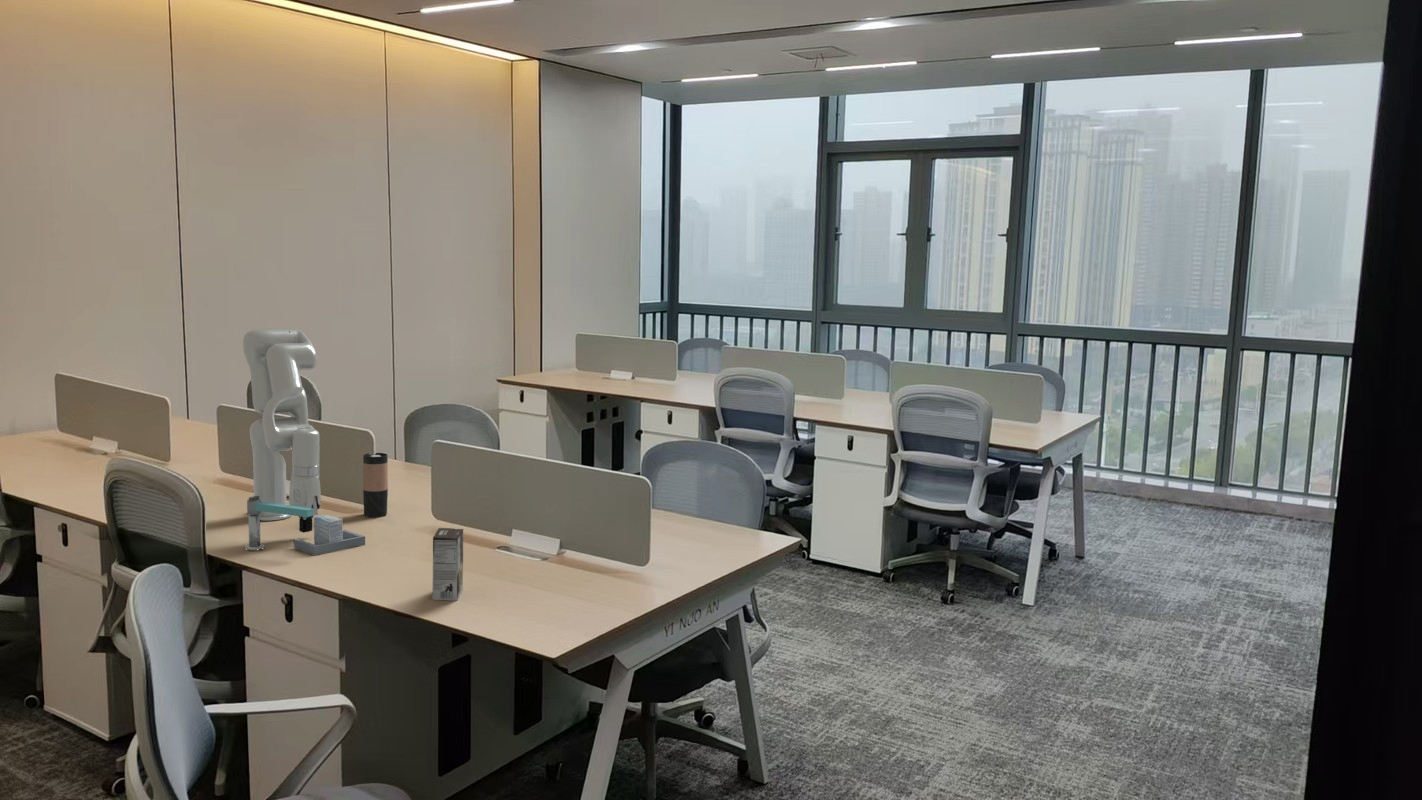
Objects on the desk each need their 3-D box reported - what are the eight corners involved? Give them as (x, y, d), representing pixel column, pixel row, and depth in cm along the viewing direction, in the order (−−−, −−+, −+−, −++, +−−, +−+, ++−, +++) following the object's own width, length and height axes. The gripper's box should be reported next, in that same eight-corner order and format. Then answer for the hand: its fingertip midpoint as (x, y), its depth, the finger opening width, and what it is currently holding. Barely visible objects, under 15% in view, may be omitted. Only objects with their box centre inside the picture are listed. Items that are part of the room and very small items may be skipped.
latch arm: (253, 511, 291) (253, 494, 291) (314, 519, 285) (314, 502, 285) (244, 513, 288) (244, 497, 287) (305, 522, 282) (305, 505, 281)
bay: (294, 548, 292) (294, 539, 292) (344, 537, 305) (344, 529, 305) (314, 555, 286) (314, 546, 286) (365, 544, 299) (365, 536, 299)
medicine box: (343, 548, 294) (343, 519, 293) (329, 551, 291) (329, 521, 290) (327, 543, 299) (327, 514, 298) (313, 546, 296) (313, 516, 294)
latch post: (241, 548, 290) (241, 514, 289) (258, 545, 294) (258, 511, 293) (250, 551, 287) (250, 517, 286) (267, 548, 291) (267, 514, 290)
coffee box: (438, 589, 261) (438, 527, 259) (463, 589, 262) (464, 528, 260) (431, 600, 252) (431, 536, 250) (457, 600, 253) (458, 537, 251)
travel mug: (380, 518, 330) (380, 457, 327) (358, 516, 331) (358, 455, 329) (392, 513, 337) (392, 453, 335) (370, 511, 339) (370, 451, 336)
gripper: (280, 468, 302) (280, 528, 305) (308, 477, 293) (308, 539, 296) (303, 464, 308) (303, 524, 311) (331, 473, 299) (331, 534, 302)
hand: (305, 531), depth 303 cm, fingers closed
